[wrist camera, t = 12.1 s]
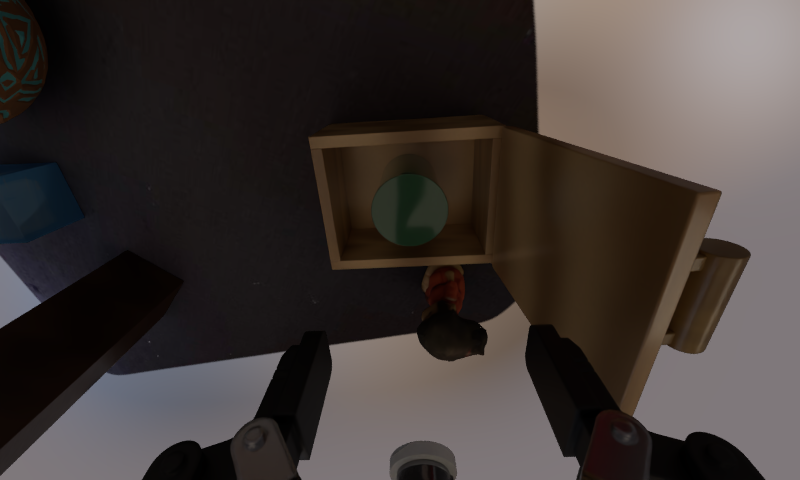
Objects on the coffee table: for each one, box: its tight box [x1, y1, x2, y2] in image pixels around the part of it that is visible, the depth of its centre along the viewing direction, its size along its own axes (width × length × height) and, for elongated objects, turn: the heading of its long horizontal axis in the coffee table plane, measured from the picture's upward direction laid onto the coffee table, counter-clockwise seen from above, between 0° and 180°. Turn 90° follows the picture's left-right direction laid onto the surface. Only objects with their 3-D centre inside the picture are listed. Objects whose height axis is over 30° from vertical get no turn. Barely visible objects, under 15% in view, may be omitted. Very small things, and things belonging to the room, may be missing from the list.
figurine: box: [417, 264, 488, 361], centre depth 34 cm, size 6×6×12 cm
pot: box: [371, 154, 448, 246], centre depth 29 cm, size 6×6×8 cm
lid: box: [492, 126, 751, 416], centre depth 19 cm, size 16×12×5 cm
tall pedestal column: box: [0, 250, 184, 475], centre depth 29 cm, size 10×10×26 cm
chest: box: [309, 115, 506, 270], centre depth 30 cm, size 15×12×8 cm
